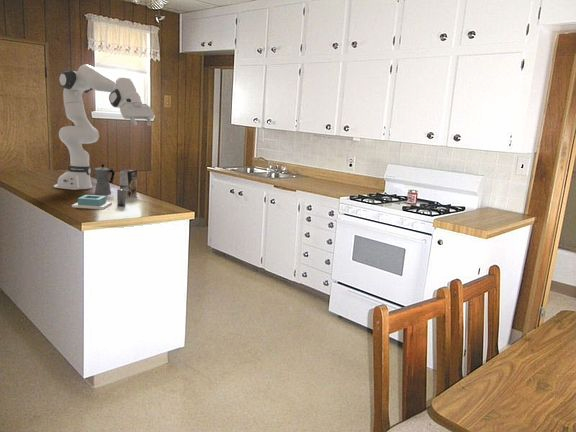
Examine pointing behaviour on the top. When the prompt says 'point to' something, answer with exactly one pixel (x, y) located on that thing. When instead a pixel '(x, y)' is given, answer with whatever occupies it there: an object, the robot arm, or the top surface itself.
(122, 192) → the steel pin
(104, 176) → the coffeepot
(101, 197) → the keeper board
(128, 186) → the coffee box
